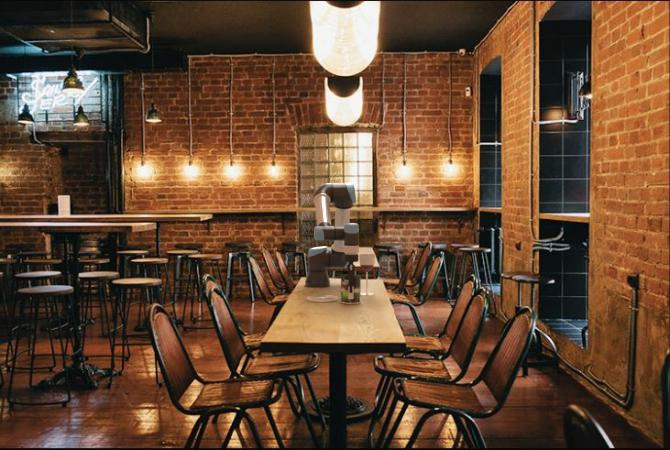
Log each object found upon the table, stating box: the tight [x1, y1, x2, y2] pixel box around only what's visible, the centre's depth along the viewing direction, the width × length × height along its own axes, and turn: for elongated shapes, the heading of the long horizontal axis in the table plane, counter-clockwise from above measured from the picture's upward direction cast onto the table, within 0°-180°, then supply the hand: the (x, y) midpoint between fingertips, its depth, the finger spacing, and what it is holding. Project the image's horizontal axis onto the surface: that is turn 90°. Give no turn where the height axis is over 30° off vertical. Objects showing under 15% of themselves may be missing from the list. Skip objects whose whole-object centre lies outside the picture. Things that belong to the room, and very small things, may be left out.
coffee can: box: [340, 273, 362, 305], centre depth 305 cm, size 10×10×14 cm
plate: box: [306, 294, 338, 303], centre depth 313 cm, size 16×16×1 cm
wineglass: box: [358, 253, 376, 296], centre depth 332 cm, size 9×10×22 cm
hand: (350, 297), depth 306 cm, fingers closed on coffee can, 10 cm apart
